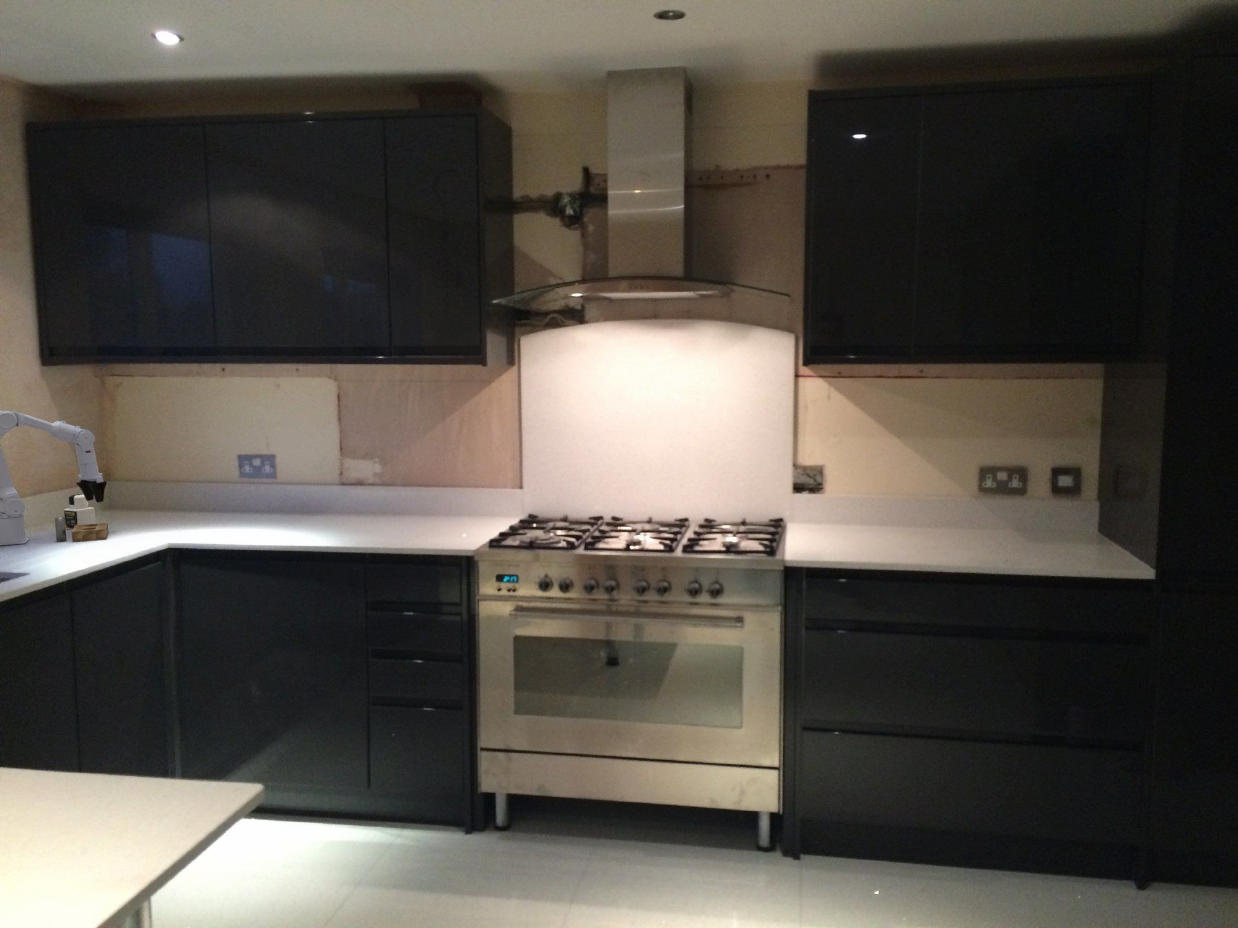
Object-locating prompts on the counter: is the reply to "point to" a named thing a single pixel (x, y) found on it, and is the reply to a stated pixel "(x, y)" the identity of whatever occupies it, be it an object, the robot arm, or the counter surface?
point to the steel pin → (60, 529)
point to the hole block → (90, 532)
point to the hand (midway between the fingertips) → (95, 501)
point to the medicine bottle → (78, 512)
